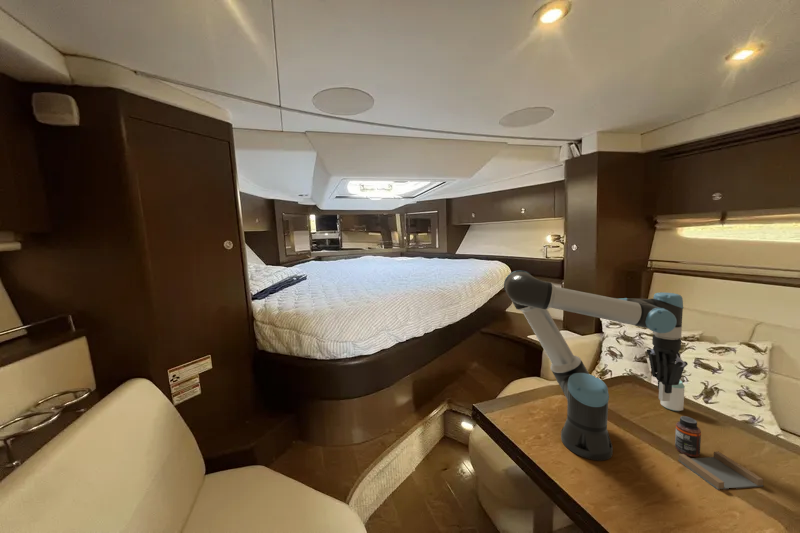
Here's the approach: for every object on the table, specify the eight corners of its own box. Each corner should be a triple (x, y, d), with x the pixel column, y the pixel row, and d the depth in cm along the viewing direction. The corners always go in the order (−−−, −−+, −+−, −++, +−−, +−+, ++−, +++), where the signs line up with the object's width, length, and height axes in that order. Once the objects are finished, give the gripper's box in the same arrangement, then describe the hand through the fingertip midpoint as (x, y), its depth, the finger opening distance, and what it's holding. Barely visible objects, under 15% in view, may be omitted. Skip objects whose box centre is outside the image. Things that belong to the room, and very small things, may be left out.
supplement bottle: (692, 447, 98) (694, 415, 97) (704, 459, 92) (706, 426, 91) (670, 443, 100) (672, 412, 99) (680, 455, 94) (682, 423, 93)
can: (680, 414, 116) (682, 385, 115) (657, 406, 122) (659, 379, 121) (685, 408, 120) (687, 380, 119) (663, 400, 126) (664, 374, 125)
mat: (717, 489, 81) (718, 482, 81) (678, 460, 92) (678, 454, 92) (763, 486, 82) (763, 479, 82) (718, 457, 93) (719, 451, 93)
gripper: (696, 342, 96) (693, 409, 98) (659, 330, 109) (656, 390, 111) (675, 343, 95) (672, 411, 97) (640, 331, 108) (638, 391, 110)
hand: (664, 399), depth 104 cm, fingers closed
